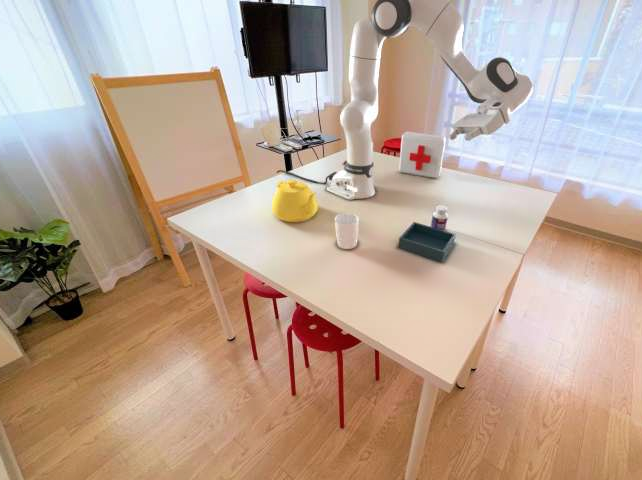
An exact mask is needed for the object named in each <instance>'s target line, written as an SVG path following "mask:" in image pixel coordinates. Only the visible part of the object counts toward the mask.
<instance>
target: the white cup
mask: <svg viewBox="0 0 642 480" xmlns="http://www.w3.org/2000/svg"><path fill="white" fill-rule="evenodd" d="M359 219H360V218H359V216H358V215H356V214H355V213H353V212H342V213H339V214H336V216H335V217H334V225H335V226H334V227H335V235H336V243H337V246H338V247H339V248H340V249H343V250H351V249H354V248H355V247H357V244H358V237H359V236H358V235H359V224H360V223H359Z"/></svg>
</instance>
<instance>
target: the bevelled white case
mask: <svg viewBox="0 0 642 480" xmlns="http://www.w3.org/2000/svg"><path fill="white" fill-rule="evenodd" d="M446 142H447V138H446V137H445V136H444V135H437V134H436V135H435V134H428V133H423V132H422V133H421V132H415V131H405V132H404V133H403V134H401V139H400V153H399V164H398V171H399V173H401V174H406V175H412V176H419V177H424V178H429V179H436V180H437V179H438V178H439V177H440V175H441V172H442V166H443V160H444V154H445V150H446V149H445V148H446Z"/></svg>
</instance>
